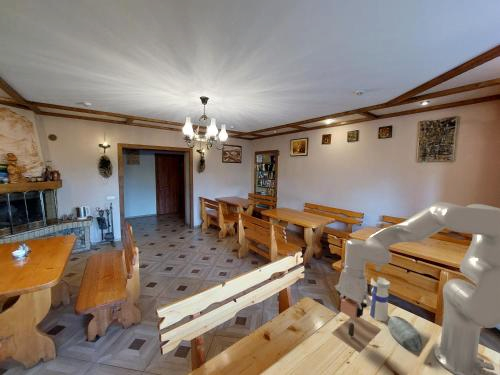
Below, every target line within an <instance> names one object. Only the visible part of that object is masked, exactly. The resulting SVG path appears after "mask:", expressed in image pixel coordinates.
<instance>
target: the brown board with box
mask: <svg viewBox="0 0 500 375" xmlns="http://www.w3.org/2000/svg"><path fill="white" fill-rule="evenodd" d="M381 331H382V328H380V327H378V326H376V325H375V324H373V323H371V322H369V321H368V320H366V319H364V318H362V316H360V317H359V318H358V317H357V318H356V319H355V320H354V319H353V318H351V317H349V318H348V319H347V320H346V321H344V322H343V323H342V324H341V325H340V326H338V327H337V328H336V329H334V330H333V331H332V332H331V334H332V335H333V336H335V337H336V338H337V339H339V340H341V341H342V343H345V344H346V345H348V346H349V347H350V348H352V349H353V350H354V351H356V352H358V353H359V354H360V353H361V352H362V351H363V350H364V349H365V347H367V346H368V345H369V344H370V343H371V341H372V340H374V339H375V337H376V336H377V335H378V334H379V333H380V332H381Z"/></svg>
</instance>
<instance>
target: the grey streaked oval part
mask: <svg viewBox="0 0 500 375" xmlns="http://www.w3.org/2000/svg"><path fill="white" fill-rule="evenodd" d="M387 321H388V322H387V327H388V331H389V333H390V335H391V337H392V338H393V340H395V341H396V342H397V343H398V344H399V345H401V346H402V347H404V348H406V349H408V350H409V351H413V352H420V351H421V349H422V346H423V341H422V338H421V335H420V332H419V331H418V329H416V328H415V326H414V325H413V324H411V323H410V322H409V321H407V320H406V319H405V318H403V317H400V316H396V315H392V316H389V319H388V320H387Z"/></svg>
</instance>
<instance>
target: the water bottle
mask: <svg viewBox="0 0 500 375" xmlns="http://www.w3.org/2000/svg"><path fill="white" fill-rule="evenodd" d="M374 268H375V269H376V270H375V271H376V272H377V271H378V272H382V271H381V269H382V270H383V267H381V265H377V266H375V267H374ZM370 285H371V286H372V289H371V291H370V293H371V297H370V300H371V301H372V303H373V304H372V305H371V306H369V312H368V313H369V315H370V316H371V318H372V319H375V320H376V321H379V322H386V321H389V319H388V318H389V317H388V314H389V302H388V297H389V292H388V289H389V288H391V287H392V286H391V282H390V281H389V280H388V279H387V278H384V277H382V276H378V277H377V280H376V281H375V279H374V277H371V279H370Z"/></svg>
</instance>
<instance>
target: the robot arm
mask: <svg viewBox="0 0 500 375" xmlns="http://www.w3.org/2000/svg"><path fill="white" fill-rule="evenodd" d="M444 229H447V230H448V231H452V232H456V233H462V234H468V235H469V234H471V235H472V237H471V238H472V239H471V242H470V245H469V247H468V249H466V250H467V251H466V252H465V254H464V256H463V258H462V260H461V262H460V264H459V271H460V272H461V274H462V275H463V276H464V277H465V278H466V279H468V280H469V281H470V282H472V283H473V284H472V283H470V282H468V281H467V280H465V279H460V278H452V279H449V280H447V281H446V282H445V283H444V285H443V287H442V297H443V317H442V326H441V337H440V346H438V347H436V348H435V349H434V351H433V352H434V358H435V359H436V361H437V362H438V363H439V364H440V365H441V366H442V367H444V368H445V369H446V370H448V371H449V372H450V373H451V374H454V375H483V373H482V370H483V369H487V370H490V371H495V366H494V365H493V363H491V362H487V361H486V362H485V361H484V358H483V357H481V356H478V351H479V345H480V344H479V343H480V335H481V330H482V329H481V328H487V329H492V328H496V327H498V326H499V325H500V207H495V206H491V205H487V204H482V203H471V204H469V205H467V206H464V205H458V204H454V203H451V202H446V201H437V202H435V203H432V204H431V205H428V206H427V207H425V208H424V209H421V210H420V211H419V212H417V213H416V214H414V215H413V216H411V217H409V218H407V219H406V220H404V221H402V222H401V223H397V224H393V225H391V226H387V227H385V228H383V229H380V230H379V231H377V232H375V233H374V234H372V235H370V236H369V237H367V238H366V239H365V241H364V240H360V239H356V238H350V239H347V241H346V244H345V256H344V257H345V258H344V262H342V263H341V267H343V269H342V270H341V272H340V276H339V280H338V283H337V284H336V285H334V288H335V290H336V291H337V294H338V295H339V298H340V301H341V300H342V299H343V298H345V297H348V298H350V299H352V300H354V301H356V302H357V303H358V308H357V317H358V318H359V317H362V316H363V315H364V309H365V308H368V307H370V306H371V305H372V304H373V303H372V301H371V297H369V294H368V278H367V276H366V264H367V263H370V264H373V265H377V266H386V265H388V264H390V262H392V257H393V256H392V253H391V251H390V250H389V249H388V248H389V247H391V246H393V245H396V244H399V243H421V242H423V241H425V240H427V239H428V238H431V237H432V236H434V235H436V234H437V233H439V232H440V231H442V230H444ZM474 284H475V285H476V286H475V285H474ZM364 300H365V301H366V302H365V301H364Z"/></svg>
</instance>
